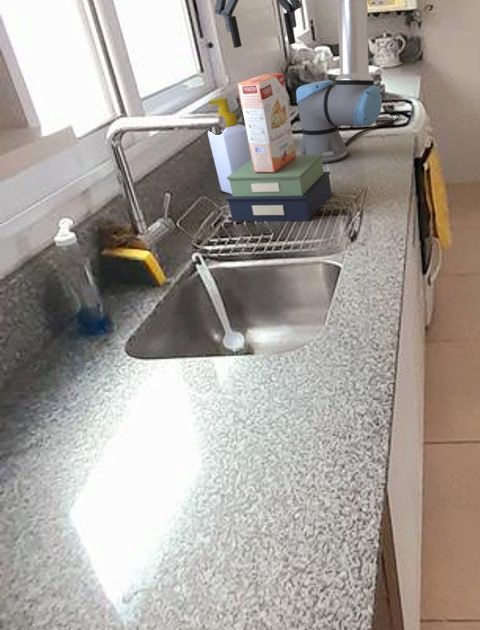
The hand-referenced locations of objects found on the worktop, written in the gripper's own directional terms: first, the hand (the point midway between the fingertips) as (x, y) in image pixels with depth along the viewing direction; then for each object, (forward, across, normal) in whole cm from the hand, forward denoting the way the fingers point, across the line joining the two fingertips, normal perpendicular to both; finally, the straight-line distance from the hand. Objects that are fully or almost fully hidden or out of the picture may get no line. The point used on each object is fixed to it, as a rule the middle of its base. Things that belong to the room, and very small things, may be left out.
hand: (264, 45), depth 142 cm
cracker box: (+27, -1, -5) cm, 28 cm away
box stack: (+38, -1, -5) cm, 39 cm away
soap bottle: (+38, -19, +9) cm, 44 cm away
